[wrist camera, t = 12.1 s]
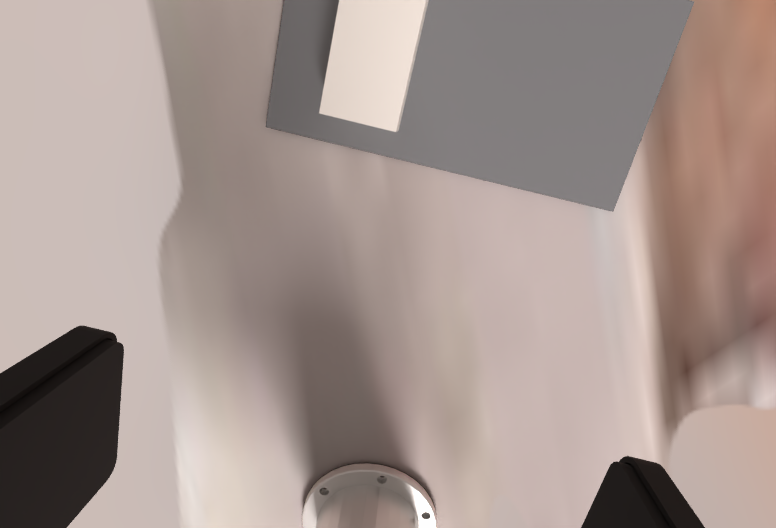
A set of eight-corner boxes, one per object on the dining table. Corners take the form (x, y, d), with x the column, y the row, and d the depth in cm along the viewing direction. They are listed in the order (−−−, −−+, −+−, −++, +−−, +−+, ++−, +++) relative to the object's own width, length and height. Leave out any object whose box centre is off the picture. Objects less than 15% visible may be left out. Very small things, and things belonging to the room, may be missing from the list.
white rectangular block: (434, -26, 31) (436, -46, 27) (398, 130, 34) (395, 132, 30) (359, -44, 31) (351, -67, 27) (330, 113, 34) (319, 113, 30)
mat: (610, 210, 35) (613, 211, 34) (268, 126, 35) (265, 127, 34) (689, 3, 31) (694, 1, 30) (300, -93, 31) (298, -97, 30)
